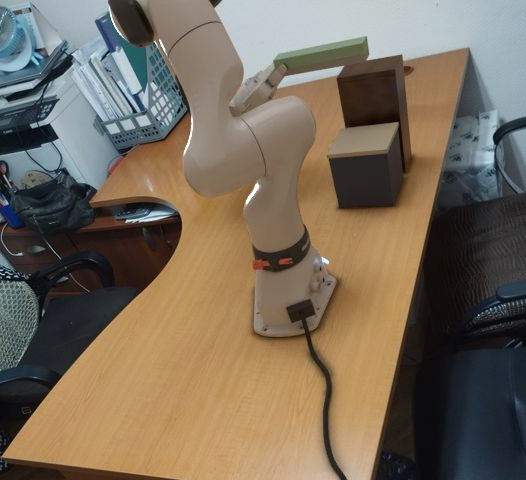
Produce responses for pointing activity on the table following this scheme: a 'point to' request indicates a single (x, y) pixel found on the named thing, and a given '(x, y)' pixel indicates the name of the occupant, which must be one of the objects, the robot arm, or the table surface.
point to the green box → (324, 56)
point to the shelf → (376, 97)
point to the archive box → (366, 165)
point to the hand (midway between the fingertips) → (289, 61)
